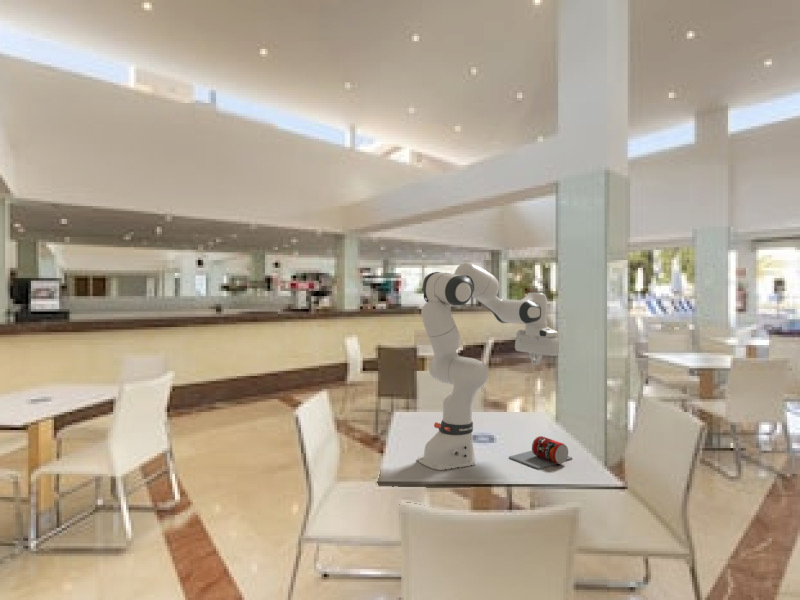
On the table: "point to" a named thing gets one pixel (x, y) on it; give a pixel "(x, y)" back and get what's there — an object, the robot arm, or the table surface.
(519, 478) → the table surface
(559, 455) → the canned food
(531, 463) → the mat
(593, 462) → the table surface
